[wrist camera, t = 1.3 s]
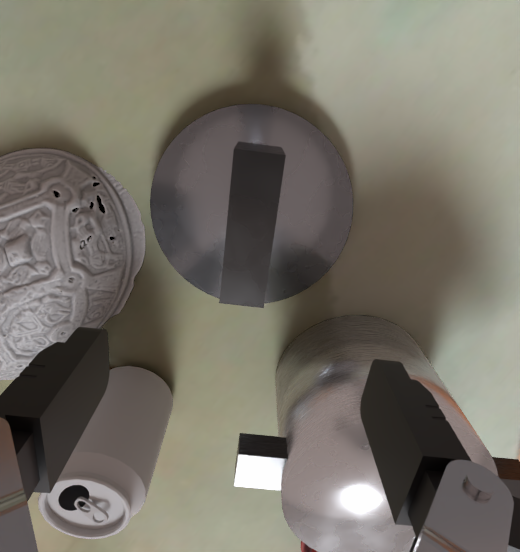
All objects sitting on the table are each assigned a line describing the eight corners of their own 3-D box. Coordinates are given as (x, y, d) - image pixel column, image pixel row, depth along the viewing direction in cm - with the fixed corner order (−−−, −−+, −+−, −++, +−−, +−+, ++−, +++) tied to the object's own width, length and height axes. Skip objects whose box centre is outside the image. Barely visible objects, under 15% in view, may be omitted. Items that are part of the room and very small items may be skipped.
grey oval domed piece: (188, 222, 30) (157, 249, 24) (50, 405, 39) (2, 459, 33) (15, 83, 27) (-70, 73, 21) (-90, 312, 37) (-170, 352, 30)
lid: (157, 90, 27) (127, 85, 21) (369, 119, 27) (399, 122, 21) (154, 284, 33) (129, 325, 27) (327, 304, 33) (342, 348, 27)
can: (119, 346, 35) (54, 456, 24) (190, 385, 37) (159, 505, 26) (82, 398, 37) (8, 520, 26) (150, 433, 39) (107, 561, 28)
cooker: (251, 302, 33) (247, 400, 22) (479, 328, 34) (583, 434, 23) (235, 426, 39) (225, 553, 28) (431, 444, 39) (497, 574, 28)
